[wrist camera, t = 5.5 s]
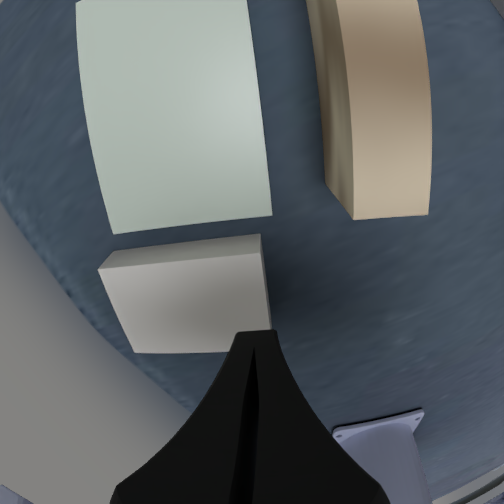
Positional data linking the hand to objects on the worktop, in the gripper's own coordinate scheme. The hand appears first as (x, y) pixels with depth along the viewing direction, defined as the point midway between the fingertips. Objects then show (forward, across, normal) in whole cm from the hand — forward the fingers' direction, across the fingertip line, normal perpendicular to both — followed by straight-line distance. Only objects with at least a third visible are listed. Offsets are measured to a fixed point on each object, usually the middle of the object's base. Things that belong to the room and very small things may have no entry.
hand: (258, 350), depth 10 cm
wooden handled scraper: (+4, -4, -11) cm, 13 cm away
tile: (+3, 0, 0) cm, 3 cm away
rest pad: (+4, +3, -9) cm, 10 cm away
